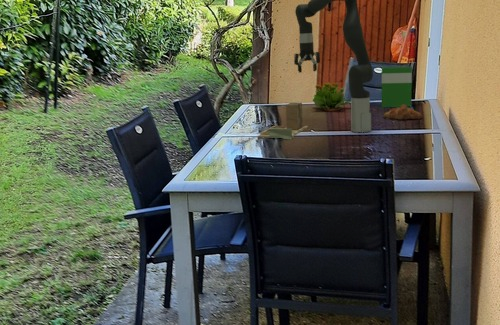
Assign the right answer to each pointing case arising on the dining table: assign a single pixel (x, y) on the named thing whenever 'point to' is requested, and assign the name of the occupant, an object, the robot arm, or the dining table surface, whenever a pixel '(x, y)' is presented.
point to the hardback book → (396, 86)
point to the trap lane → (280, 132)
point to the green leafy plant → (329, 97)
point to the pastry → (402, 113)
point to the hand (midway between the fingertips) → (307, 71)
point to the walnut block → (294, 116)
